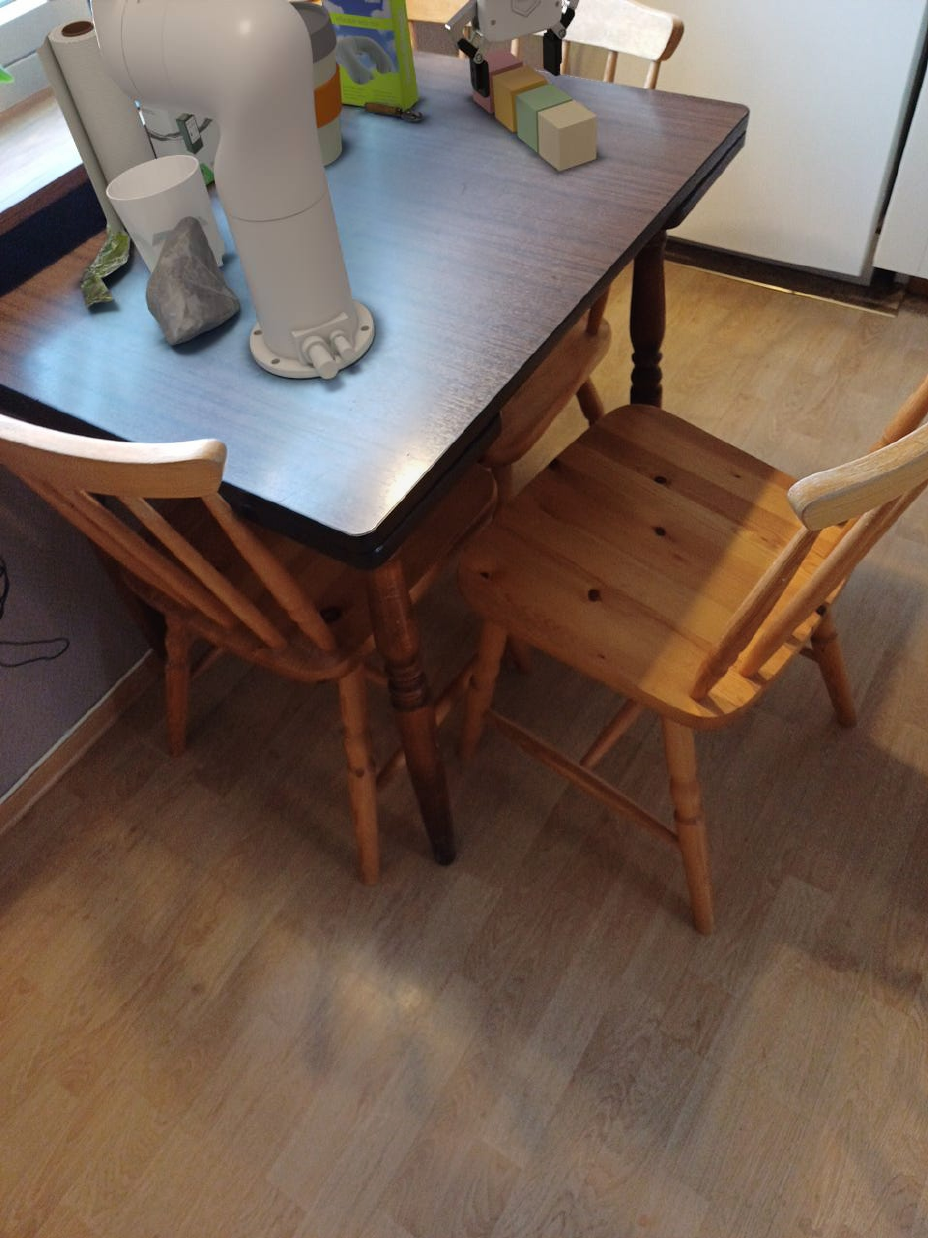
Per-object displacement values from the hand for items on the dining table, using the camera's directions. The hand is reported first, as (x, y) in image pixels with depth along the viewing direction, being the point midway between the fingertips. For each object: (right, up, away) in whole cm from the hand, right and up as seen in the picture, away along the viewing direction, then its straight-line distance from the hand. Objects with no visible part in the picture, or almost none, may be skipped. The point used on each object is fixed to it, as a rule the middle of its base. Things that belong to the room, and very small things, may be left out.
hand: (517, 82), depth 116 cm
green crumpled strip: (-46, -22, -8) cm, 52 cm away
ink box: (-39, -10, +3) cm, 41 cm away
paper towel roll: (-44, -19, -3) cm, 48 cm away
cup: (-37, -26, -10) cm, 47 cm away
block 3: (+6, -10, -3) cm, 12 cm away
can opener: (-16, 0, +8) cm, 17 cm away
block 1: (-2, +2, +8) cm, 8 cm away
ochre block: (+1, -2, +4) cm, 5 cm away
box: (-18, +3, +11) cm, 21 cm away
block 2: (+3, -7, 0) cm, 7 cm away
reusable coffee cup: (-26, -7, +4) cm, 28 cm away
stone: (-31, -32, -15) cm, 47 cm away
